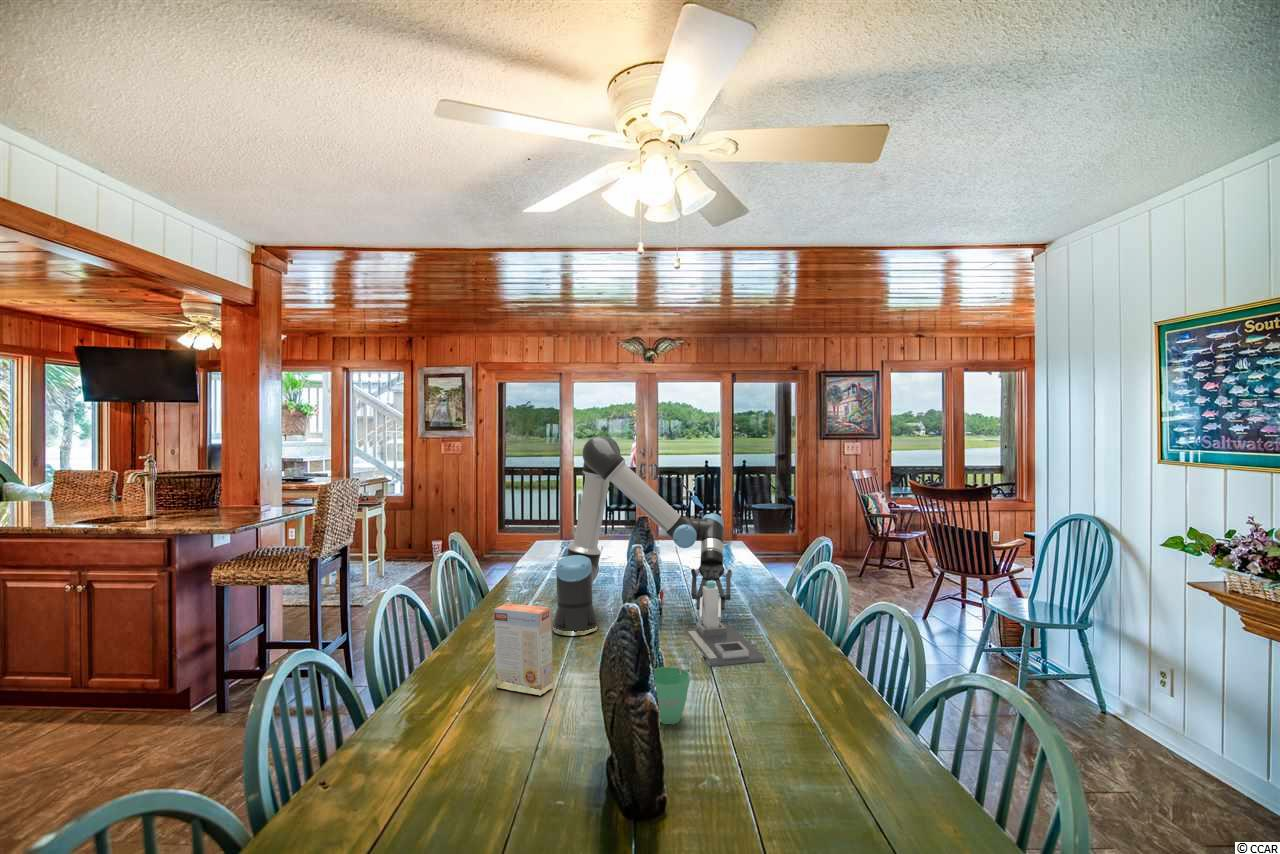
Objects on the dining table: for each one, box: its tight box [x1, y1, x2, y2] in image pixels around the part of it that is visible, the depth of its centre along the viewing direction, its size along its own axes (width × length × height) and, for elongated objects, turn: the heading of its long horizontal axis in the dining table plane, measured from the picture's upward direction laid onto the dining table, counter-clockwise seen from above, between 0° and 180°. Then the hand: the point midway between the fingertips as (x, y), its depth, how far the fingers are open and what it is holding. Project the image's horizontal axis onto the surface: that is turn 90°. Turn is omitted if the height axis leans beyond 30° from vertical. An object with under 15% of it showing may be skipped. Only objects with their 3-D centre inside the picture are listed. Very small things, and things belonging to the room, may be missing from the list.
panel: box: [683, 621, 766, 667], centre depth 184 cm, size 16×30×3 cm, turn 10°
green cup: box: [653, 666, 691, 725], centre depth 138 cm, size 15×10×10 cm
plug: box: [702, 580, 719, 629], centre depth 194 cm, size 4×4×16 cm
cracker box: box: [493, 602, 554, 690], centre depth 157 cm, size 14×6×21 cm, turn 65°
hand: (710, 618), depth 191 cm, fingers closed on plug, 5 cm apart
